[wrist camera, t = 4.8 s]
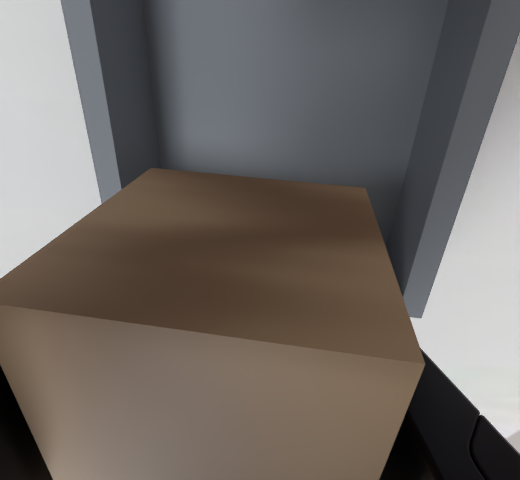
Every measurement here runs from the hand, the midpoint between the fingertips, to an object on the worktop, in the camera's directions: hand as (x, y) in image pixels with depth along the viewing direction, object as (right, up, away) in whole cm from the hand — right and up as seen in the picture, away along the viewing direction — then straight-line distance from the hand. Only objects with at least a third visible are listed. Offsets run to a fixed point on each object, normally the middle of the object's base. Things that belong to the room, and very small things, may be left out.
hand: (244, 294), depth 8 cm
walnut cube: (0, +1, +1) cm, 1 cm away
